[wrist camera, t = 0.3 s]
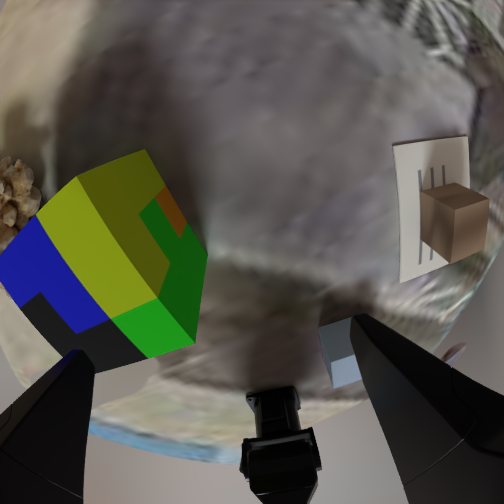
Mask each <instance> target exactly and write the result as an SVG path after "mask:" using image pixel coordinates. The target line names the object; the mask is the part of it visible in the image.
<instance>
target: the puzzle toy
mask: <svg viewBox="0 0 504 504" xmlns="http://www.w3.org/2000/svg"><path fill="white" fill-rule="evenodd" d="M207 257H208V255H207V253H206V252H205V250H204V248H203V247H202V245H201V244H200V242H199V240H198V239H197V237H196V235H195V234H194V232H193V230H192V229H191V227H190V226H189V224H188V222H187V221H186V219H185V217H184V216H183V214H182V212H181V211H180V209H179V207H178V205H177V204H176V202H175V200H174V199H173V197H172V195H171V194H170V192H169V190H168V188H167V187H166V185H165V183H164V182H163V180H162V178H161V176H160V175H159V173H158V171H157V169H156V167H155V166H154V164H153V162H152V160H151V159H150V157H149V155H148V153H147V151H146V150H145V149H143V150H140V151H137V152H134V153H132V154H129V155H126V156H123V157H121V158H118V159H116V160H113V161H110V162H108V163H105V164H103V165H101V166H98V167H96V168H93V169H91V170H89V171H86V172H84V173H82V174H80V175H77V176H76V177H75V178H73V179H72V180H71V181H70V182H69V183H68V184H67V185H66V186H64V187H63V188H62V189H61V190H60V191H59V192H58V193H57V194H56V195H55V196H54V197H53V198H52V199H51V200H49V201H48V202H47V203H46V204H45V205H44V206H43V207H42V208H41V209H40V210H39V211H38V212H37V213H36V215H35V216H34V217H33V218H32V219H31V220H30V221H29V222H28V223H27V224H26V225H25V226H24V227H23V229H22V230H21V231H20V232H19V233H18V234H17V235H16V237H15V238H14V239H13V240H12V241H11V242H10V244H9V245H8V246H7V247H6V248H5V250H4V251H3V252H2V254H1V255H0V282H1V284H2V285H3V287H4V288H5V289H6V291H7V292H8V294H9V295H10V296H11V298H12V299H13V300H14V302H15V303H16V304H17V306H18V307H19V308H20V310H21V311H22V312H23V313H24V315H25V316H26V317H27V318H28V320H29V321H30V322H31V323H32V324H33V325H34V327H35V328H36V329H37V330H38V331H39V332H40V334H41V335H42V336H43V337H44V338H45V339H46V340H47V341H48V342H49V343H50V344H51V345H52V347H53V348H54V349H55V350H56V351H57V352H58V353H59V354H60V355H61V356H62V357H64V356H66V355H67V354H68V353H69V352H70V351H71V350H73V349H82V350H84V351H85V353H86V354H87V355H88V357H89V358H90V360H91V361H92V362H93V364H94V366H95V374H96V373H100V372H103V371H107V370H111V369H114V368H118V367H121V366H125V365H128V364H132V363H135V362H138V361H142V360H145V359H148V358H152V357H155V356H158V355H161V354H164V353H167V352H170V351H173V350H176V349H179V348H182V347H185V346H188V345H191V344H194V343H195V341H196V333H197V325H198V318H199V310H200V303H201V296H202V289H203V282H204V276H205V269H206V263H207Z"/></svg>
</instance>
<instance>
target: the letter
mask: <svg viewBox="0 0 504 504" xmlns="http://www.w3.org/2000/svg"><path fill="white" fill-rule="evenodd" d="M392 148H393V155H394V163H395V172H396V181H397V193H398V207H399V232H400V265H399V283H402V282H405V281H408V280H410V279H413V278H415V277H418V276H420V275H423V274H425V273H428V272H430V271H432V270H435V269H437V268H440V267H442V266H444V265H447V264H449V263H448V262H447V261H446V260H445V259H444V258H442V257H441V256H440V255H439V254H438V253H437V252H435V251H434V250H433V249H432V248H430V247H429V246H428V245H427V244H426V243H424V242H423V241H422V240H420V237H421V206H420V191H423V190H427V189H431V188H435V187H439V186H443V185H447V184H451V183H457V184H460V185H462V186H464V187H466V188H470V177H469V151H468V138H467V136H463V137H454V138H445V139H437V140H429V141H422V142H415V143H408V144H402V145H396V146H392Z"/></svg>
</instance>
